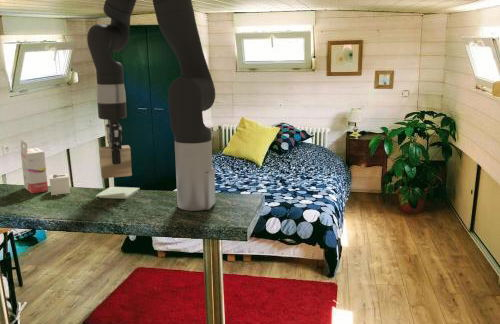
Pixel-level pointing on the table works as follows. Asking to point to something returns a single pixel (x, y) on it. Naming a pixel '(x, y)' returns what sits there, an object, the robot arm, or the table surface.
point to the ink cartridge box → (33, 169)
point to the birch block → (119, 169)
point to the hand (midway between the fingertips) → (115, 162)
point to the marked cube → (59, 184)
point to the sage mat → (117, 192)
